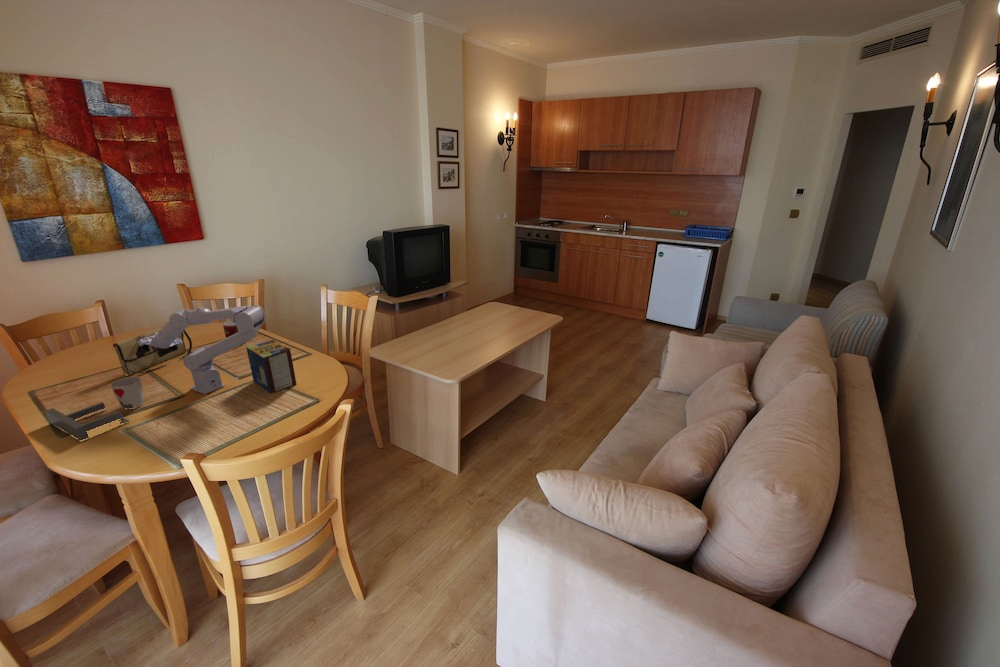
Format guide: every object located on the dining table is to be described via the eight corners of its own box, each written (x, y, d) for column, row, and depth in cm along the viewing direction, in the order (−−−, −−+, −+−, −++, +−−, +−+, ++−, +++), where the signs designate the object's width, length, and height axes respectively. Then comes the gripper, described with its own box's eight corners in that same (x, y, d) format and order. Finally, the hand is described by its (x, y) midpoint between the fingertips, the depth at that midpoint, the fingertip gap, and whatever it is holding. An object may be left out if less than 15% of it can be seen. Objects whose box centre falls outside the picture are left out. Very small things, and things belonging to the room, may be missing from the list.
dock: (130, 422, 146) (125, 409, 144) (81, 442, 135) (76, 429, 133) (98, 406, 155) (93, 393, 153) (50, 423, 144) (44, 410, 142)
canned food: (229, 341, 213) (225, 320, 209) (248, 340, 215) (243, 319, 211) (225, 347, 206) (220, 326, 202) (244, 346, 208) (239, 324, 204)
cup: (114, 408, 154) (105, 383, 150) (140, 398, 160) (133, 374, 157) (126, 414, 150) (117, 389, 147) (152, 404, 157) (144, 379, 153)
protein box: (279, 373, 182) (272, 339, 176) (297, 384, 172) (290, 348, 167) (252, 382, 174) (245, 346, 168) (270, 394, 165) (263, 357, 159)
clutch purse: (132, 380, 174) (121, 346, 168) (119, 378, 175) (108, 344, 170) (198, 352, 200) (190, 322, 195) (187, 350, 202) (178, 320, 197)
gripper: (183, 325, 169) (164, 346, 172) (143, 324, 155) (122, 347, 158) (191, 340, 167) (171, 360, 171) (151, 340, 154) (130, 362, 157)
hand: (148, 355), depth 164 cm, fingers open, 7 cm apart
